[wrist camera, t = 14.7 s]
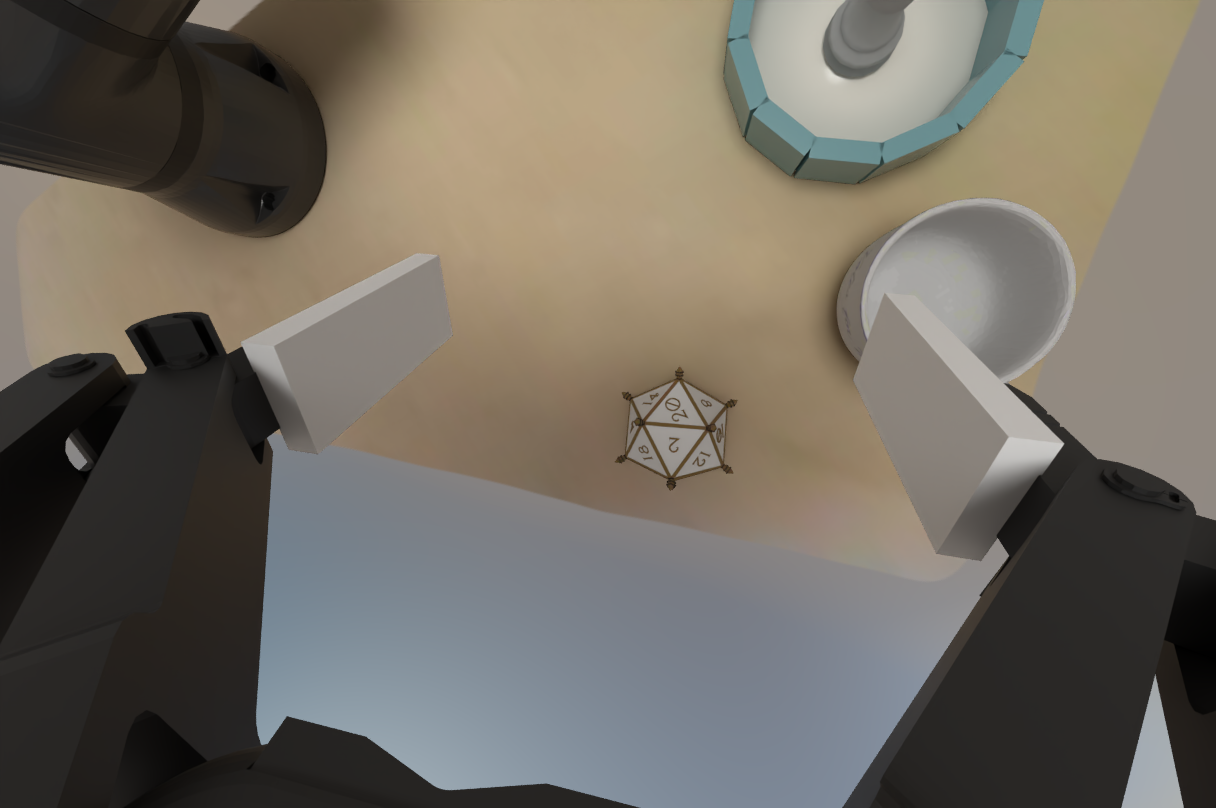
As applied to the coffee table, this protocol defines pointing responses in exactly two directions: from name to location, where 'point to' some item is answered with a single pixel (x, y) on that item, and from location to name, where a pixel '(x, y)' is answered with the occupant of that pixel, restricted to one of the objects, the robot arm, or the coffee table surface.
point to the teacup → (970, 280)
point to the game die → (676, 431)
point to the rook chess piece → (863, 35)
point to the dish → (867, 82)
